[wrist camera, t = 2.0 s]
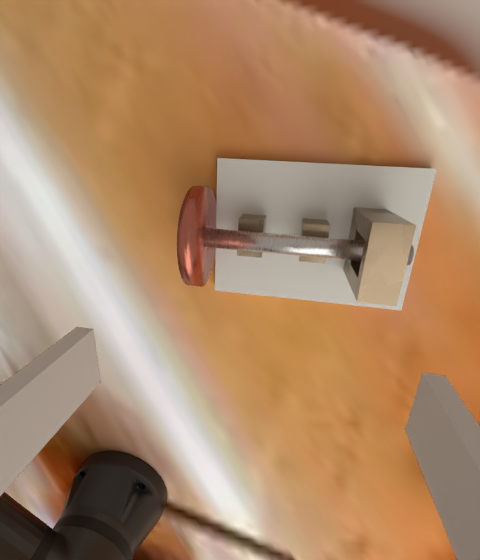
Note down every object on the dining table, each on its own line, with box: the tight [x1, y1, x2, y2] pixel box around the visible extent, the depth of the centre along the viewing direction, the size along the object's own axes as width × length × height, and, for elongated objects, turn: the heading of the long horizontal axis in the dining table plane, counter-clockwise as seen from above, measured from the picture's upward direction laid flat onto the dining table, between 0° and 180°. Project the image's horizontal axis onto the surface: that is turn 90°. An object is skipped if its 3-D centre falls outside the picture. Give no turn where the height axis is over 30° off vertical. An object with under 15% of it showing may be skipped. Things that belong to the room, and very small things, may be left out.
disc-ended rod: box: [177, 186, 414, 286], centre depth 29 cm, size 20×9×9 cm, turn 87°
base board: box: [215, 158, 437, 310], centre depth 33 cm, size 20×14×1 cm
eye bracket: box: [237, 207, 416, 306], centre depth 29 cm, size 14×6×8 cm, turn 87°
